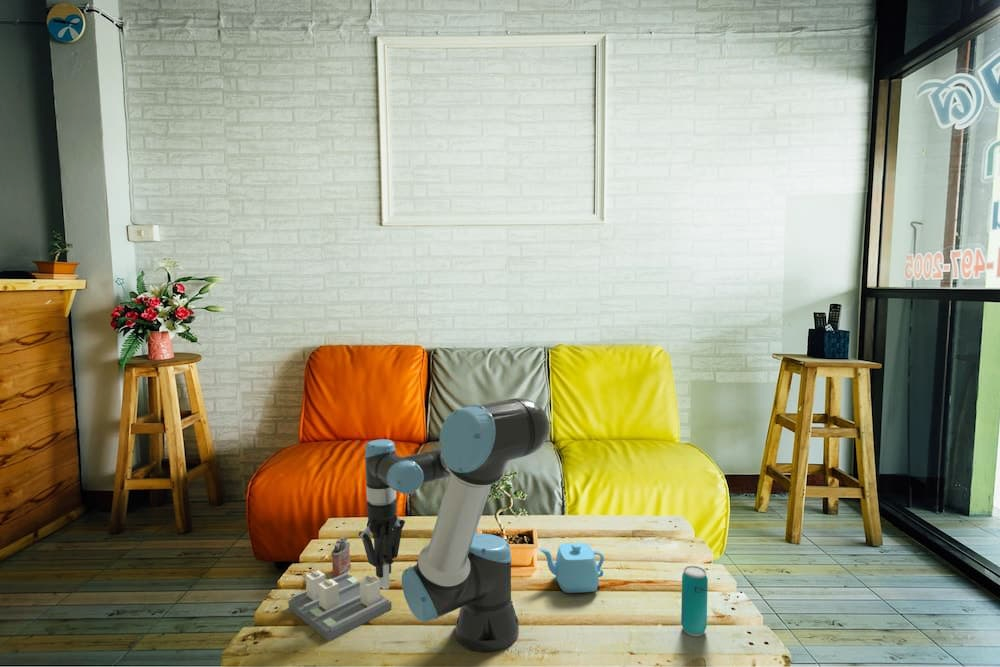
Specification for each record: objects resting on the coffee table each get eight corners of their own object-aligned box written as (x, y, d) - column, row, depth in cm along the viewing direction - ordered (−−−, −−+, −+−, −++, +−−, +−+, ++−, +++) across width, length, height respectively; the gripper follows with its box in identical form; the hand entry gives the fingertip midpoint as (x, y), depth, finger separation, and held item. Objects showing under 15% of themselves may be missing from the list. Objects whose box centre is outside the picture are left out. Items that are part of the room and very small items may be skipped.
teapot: (536, 574, 163) (536, 536, 162) (598, 572, 164) (598, 534, 163) (542, 598, 151) (542, 557, 150) (609, 595, 152) (609, 554, 151)
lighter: (340, 580, 161) (339, 546, 160) (329, 579, 162) (328, 545, 161) (353, 566, 169) (352, 534, 168) (342, 565, 170) (341, 533, 169)
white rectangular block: (339, 604, 145) (338, 581, 144) (326, 610, 142) (325, 586, 142) (331, 599, 147) (330, 576, 147) (319, 605, 145) (318, 581, 144)
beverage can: (711, 635, 134) (713, 575, 133) (690, 640, 133) (691, 579, 131) (696, 621, 140) (697, 563, 138) (676, 626, 138) (677, 567, 137)
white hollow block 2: (380, 601, 146) (379, 578, 145) (368, 607, 143) (367, 583, 143) (372, 596, 148) (371, 573, 148) (360, 601, 146) (359, 578, 145)
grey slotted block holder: (391, 609, 147) (391, 598, 146) (328, 641, 134) (327, 629, 133) (349, 581, 160) (349, 571, 160) (288, 608, 147) (288, 597, 147)
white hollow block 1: (326, 595, 149) (325, 572, 149) (313, 600, 147) (312, 577, 146) (319, 590, 152) (318, 567, 151) (306, 595, 149) (305, 572, 148)
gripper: (394, 489, 154) (396, 572, 156) (351, 503, 145) (354, 591, 147) (410, 496, 149) (412, 582, 151) (367, 511, 139) (370, 602, 142)
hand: (384, 586), depth 149 cm, fingers closed
